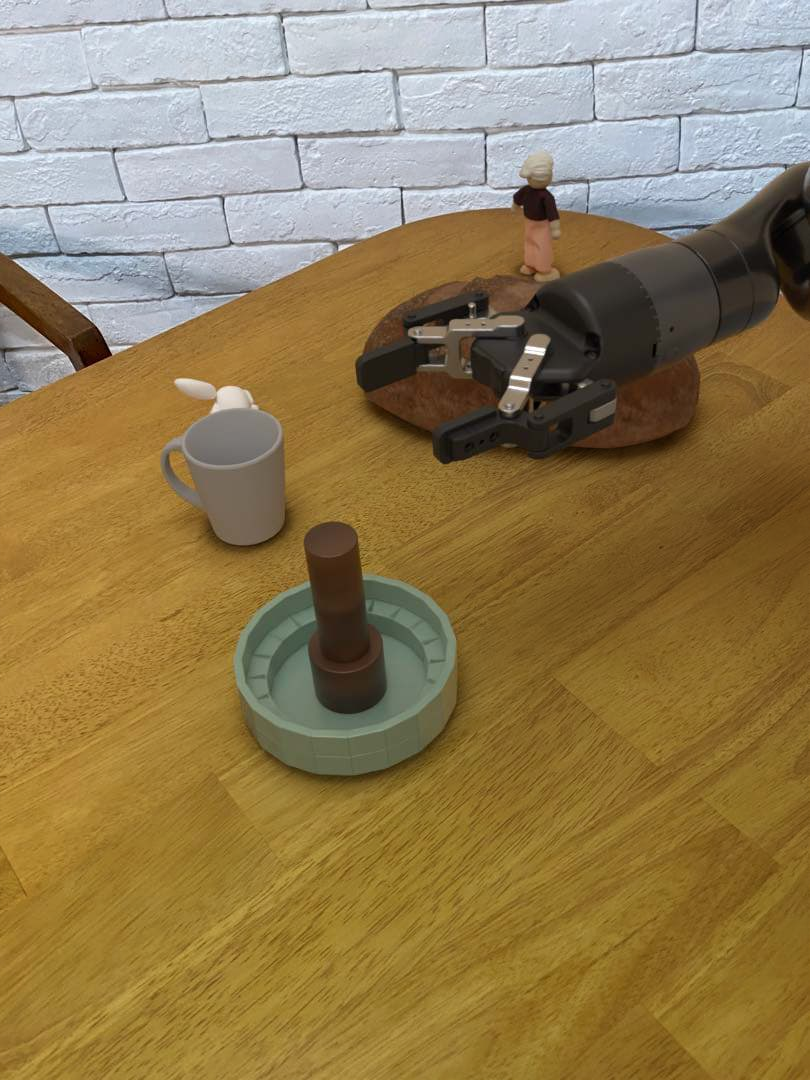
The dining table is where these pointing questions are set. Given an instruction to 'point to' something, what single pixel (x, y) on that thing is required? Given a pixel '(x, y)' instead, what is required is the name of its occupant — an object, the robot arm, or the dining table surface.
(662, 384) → the bread
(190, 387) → the rabbit figurine
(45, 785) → the dining table surface
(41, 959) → the dining table surface
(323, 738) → the bowl
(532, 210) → the grandmother figurine
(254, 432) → the cup
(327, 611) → the pestle
